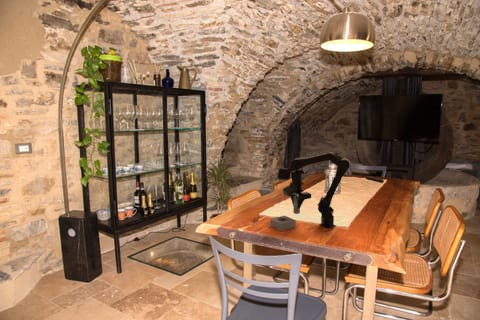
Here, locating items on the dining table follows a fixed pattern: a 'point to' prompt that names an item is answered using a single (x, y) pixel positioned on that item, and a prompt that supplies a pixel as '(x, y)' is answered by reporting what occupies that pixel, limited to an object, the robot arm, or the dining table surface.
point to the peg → (295, 206)
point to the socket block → (282, 223)
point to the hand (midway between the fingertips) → (296, 207)
